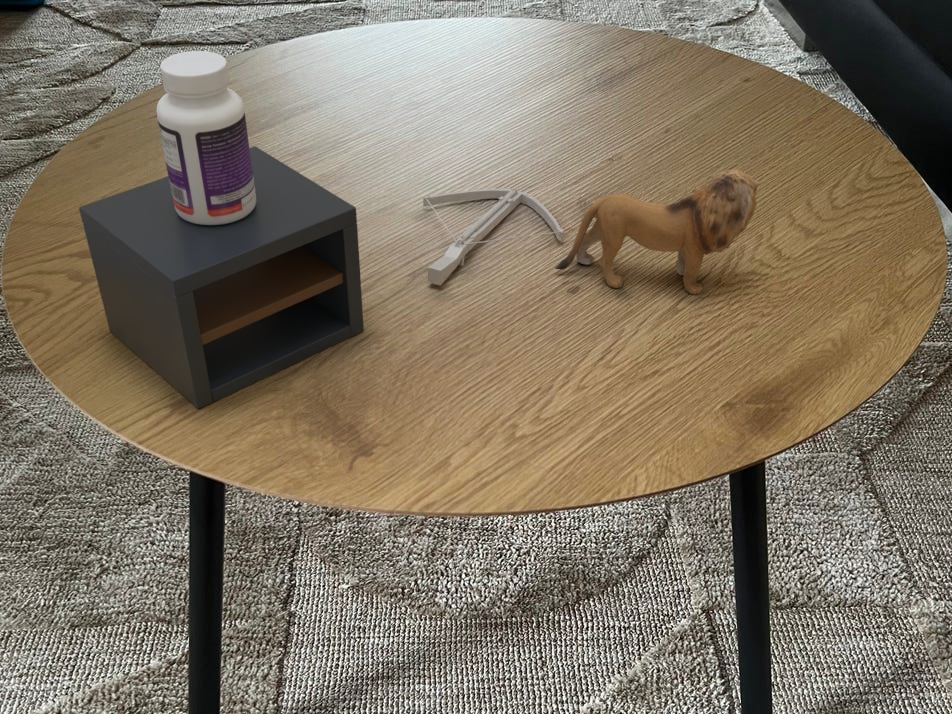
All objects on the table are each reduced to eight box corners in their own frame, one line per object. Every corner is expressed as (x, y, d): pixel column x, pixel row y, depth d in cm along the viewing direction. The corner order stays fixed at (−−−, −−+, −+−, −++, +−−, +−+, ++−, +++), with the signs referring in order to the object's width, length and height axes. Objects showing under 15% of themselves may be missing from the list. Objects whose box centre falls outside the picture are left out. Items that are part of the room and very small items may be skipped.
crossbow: (452, 191, 98) (452, 169, 96) (584, 223, 94) (586, 201, 93) (362, 265, 86) (361, 241, 85) (508, 306, 83) (510, 282, 81)
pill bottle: (265, 190, 75) (248, 48, 68) (245, 230, 71) (225, 83, 64) (188, 185, 75) (163, 43, 69) (164, 224, 71) (135, 77, 65)
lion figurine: (734, 261, 88) (756, 156, 82) (746, 297, 85) (769, 190, 78) (553, 258, 88) (561, 153, 82) (556, 294, 84) (565, 187, 78)
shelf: (109, 331, 80) (78, 206, 73) (270, 264, 87) (255, 145, 80) (198, 409, 73) (173, 281, 66) (364, 330, 80) (356, 207, 73)
